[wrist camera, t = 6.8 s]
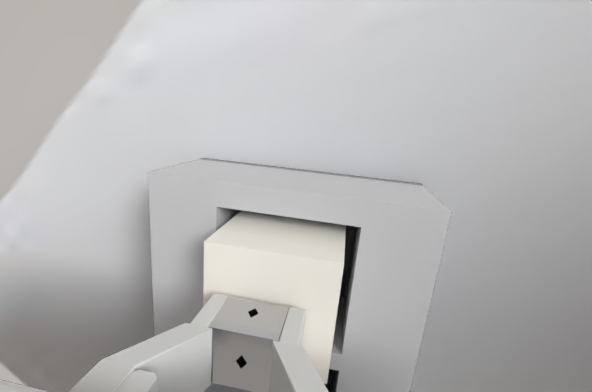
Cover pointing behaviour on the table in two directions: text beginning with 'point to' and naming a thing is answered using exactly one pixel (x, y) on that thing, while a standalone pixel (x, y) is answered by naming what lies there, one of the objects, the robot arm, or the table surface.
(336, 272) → the key ivory
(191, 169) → the keypad
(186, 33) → the table surface
